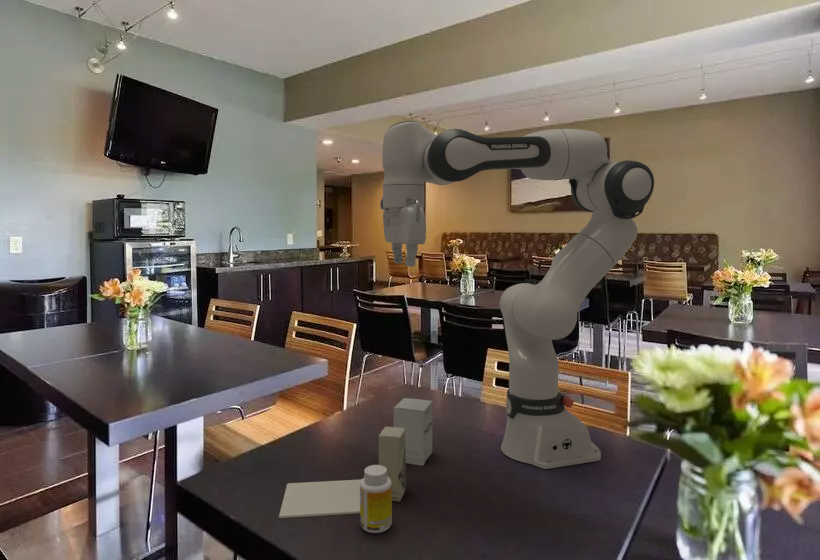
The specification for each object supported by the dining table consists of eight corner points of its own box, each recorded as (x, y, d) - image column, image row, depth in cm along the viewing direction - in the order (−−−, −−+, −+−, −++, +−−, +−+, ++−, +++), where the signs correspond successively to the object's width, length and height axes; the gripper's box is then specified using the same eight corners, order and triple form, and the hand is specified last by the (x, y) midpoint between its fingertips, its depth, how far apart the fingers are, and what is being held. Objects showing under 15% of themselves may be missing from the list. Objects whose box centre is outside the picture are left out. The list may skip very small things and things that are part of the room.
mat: (375, 480, 106) (375, 478, 106) (378, 512, 94) (378, 510, 94) (287, 485, 104) (287, 483, 104) (279, 518, 92) (278, 516, 92)
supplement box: (424, 466, 112) (424, 410, 111) (392, 461, 115) (392, 407, 113) (433, 452, 119) (433, 400, 118) (403, 448, 121) (403, 396, 120)
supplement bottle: (398, 525, 90) (398, 469, 89) (375, 538, 86) (374, 480, 85) (376, 513, 94) (376, 459, 93) (353, 525, 90) (352, 470, 89)
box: (400, 502, 97) (400, 437, 96) (378, 500, 98) (377, 435, 97) (406, 489, 102) (406, 427, 101) (385, 486, 103) (384, 425, 102)
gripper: (433, 197, 100) (433, 267, 101) (404, 202, 119) (405, 261, 121) (402, 196, 98) (403, 268, 99) (378, 202, 117) (379, 262, 119)
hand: (404, 264), depth 110 cm, fingers open, 8 cm apart
